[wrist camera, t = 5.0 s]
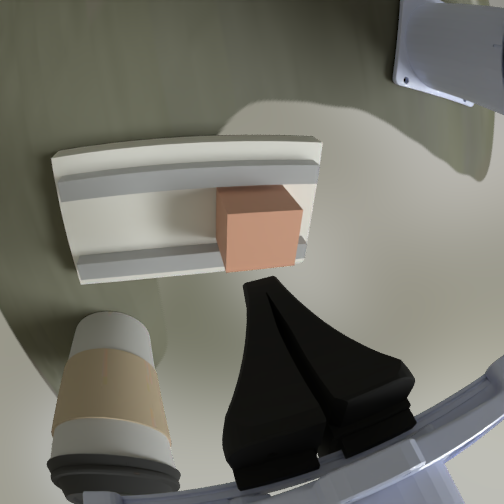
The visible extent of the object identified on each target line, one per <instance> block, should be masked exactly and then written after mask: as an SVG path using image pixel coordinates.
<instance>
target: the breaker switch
mask: <svg viewBox="0 0 504 504" xmlns="http://www.w3.org/2000/svg"><path fill="white" fill-rule="evenodd" d="M302 215H303V209H302V208H301V207H300V205H299V204H298V203H297V202H296V201H295V199H294V198H293V197H292V196H291V195H290V193H289V192H288V191H287V190H286V189H285V187H284V186H283V185H254V186H232V187H216V241H217V244H218V248H219V251H220V254H221V257H222V261H223V264H224V267H225V271H226V273H228V272H238V271H247V270H256V269H265V268H274V267H284V266H292V265H294V264H295V258H296V252H297V246H298V240H299V234H300V228H301V221H302Z"/></svg>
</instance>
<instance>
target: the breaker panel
mask: <svg viewBox="0 0 504 504" xmlns="http://www.w3.org/2000/svg"><path fill="white" fill-rule="evenodd" d="M322 145H323V142H321V141H319V140H318V139H316V138H315V137H313V136H291V135H214V136H190V137H173V138H159V139H147V140H136V141H126V142H117V143H108V144H100V145H93V146H86V147H79V148H72V149H66V150H60V151H58V152H57V153H56V154H55V155H54V156H53V157H52V158H51V161H52V167H53V173H54V178H55V184H56V189H57V194H58V199H59V204H60V208H61V213H62V217H63V222H64V226H65V230H66V234H67V238H68V242H69V245H70V249H71V253H72V256H73V260H74V263H75V267H76V270H77V273H78V277H79V280H80V283H81V284H93V283H104V282H115V281H126V280H137V279H148V278H158V277H169V276H179V275H189V274H199V273H209V272H219V271H225V267H224V264H223V261H222V257H221V254H220V251H219V248H218V244H217V241H216V187H232V186H254V185H283V186H284V187H285V189H286V190H287V191H288V192H289V193H290V195H291V196H292V197H293V198H294V199H295V201H296V202H297V203H298V204H299V205H300V207H301V208H302V209H303V215H302V221H301V228H300V234H299V240H298V246H297V252H296V258H295V263H303V261H304V258H305V252H306V247H307V239H308V233H309V228H310V222H311V216H312V210H313V204H314V197H315V191H316V185H317V181H318V175H319V168H320V159H321V152H322Z"/></svg>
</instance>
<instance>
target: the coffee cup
mask: <svg viewBox="0 0 504 504" xmlns="http://www.w3.org/2000/svg"><path fill="white" fill-rule="evenodd" d="M51 433H52V436H53V443H52V452H51V459H49V460H48V462H47V467H48V469H49V470H50V472H51V480H52V482H53V483H54V484H55V485H56V486H57V487H59V488H60V489H62V491H63V493H64V495H65V497H66V499H67V500H68V501H70V502H72V503H74V504H83V492H84V491H110V492H115V493H118V494H119V495H121V496H132V495H147V494H158V493H168V492H176V491H178V490H179V488H180V484H179V482H178V481H179V479H180V476H181V475H180V472H179V471H178V470H177V469H176V468H175V464H174V460H173V456H172V452H171V444H172V443H171V439H170V434H169V430H168V426H167V421H166V416H165V412H164V407H163V402H162V397H161V392H160V387H159V382H158V377H157V373H156V371H155V368H154V361H153V355H152V349H151V342H150V335H149V332H148V330H147V329H146V327H145V326H144V325H143V324H142V323H141V322H140V321H138V320H137V319H135V318H133V317H131V316H129V315H126V314H123V313H119V312H112V311H104V312H97V313H93V314H91V315H88V316H87V317H85V318H84V319H82V320H81V321H80V322H79V324H78V325H77V328H76V331H75V335H74V339H73V342H72V346H71V350H70V354H69V358H68V361H67V363H66V365H65V368H64V372H63V376H62V380H61V385H60V389H59V394H58V399H57V404H56V409H55V414H54V420H53V425H52V431H51Z"/></svg>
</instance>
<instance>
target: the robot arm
mask: <svg viewBox="0 0 504 504" xmlns="http://www.w3.org/2000/svg"><path fill="white" fill-rule="evenodd" d="M404 78H405V79H406V80H405V82H404ZM393 82H394V83H395V84H397V85H400V86H404V87H408V88H412V89H415V90H419V91H423V92H426V93H430V94H433V95H436V96H439V97H443V98H446V99H449V100H452V101H455V102H458V103H461V104H464V105H467V106H469V107H472V106H473V105H474V103H475V104H477V105H480V106H483V107H485V108H488V109H490V110H493V111H495V112H498V113H500V114H502V115H504V8H500V7H492V6H483V5H472V4H455V3H444V2H442V1H441V0H400V12H399V25H398V36H397V45H396V54H395V63H394V71H393ZM243 290H244V296H245V302H246V307H247V326H246V339H245V347H244V354H243V360H242V364H241V369H240V374H239V377H238V381H237V384H236V388H235V391H234V394H233V397H232V400H231V403H230V406H229V408H228V411H227V413H226V416H225V422H224V429H223V438H222V441H223V442H222V443H223V444H222V445H223V451H224V455H225V458H226V461H227V462H228V464H229V465H230V467H231V468H232V469H233V473H234V477H235V482H230V483H226V484H221V485H215V486H210V487H204V488H198V489H191V490H184V491H176V492H168V493H158V494H147V495H132V496H121V495H119V494H118V493H115V492H110V491H84V492H83V504H465V502H464V501H463V499H462V497H461V495H460V493H459V491H458V489H457V487H456V485H455V483H454V481H453V480H452V477H451V475H450V474H449V472H448V470H447V468H446V466H445V464H444V463H446V462H447V461H449V460H450V459H451V458H453V457H455V456H456V455H457V454H459V453H461V451H463V450H465V449H466V448H468V447H469V446H470V445H472V444H473V443H474V442H476V441H477V440H478V439H480V438H481V437H482V436H484V435H485V434H486V433H488V432H489V431H490V430H491V429H493V428H494V427H495V426H496V425H498V424H499V423H500V422H501V421H502V420H504V355H503V356H502V357H500V358H499V359H497V360H496V361H495V362H494V363H492V364H491V365H490V367H489V368H488V369H487V371H486V372H485V374H484V375H482V376H481V377H480V378H478V379H477V380H475V381H474V382H472V383H471V384H469V385H468V386H466V387H464V388H463V389H461V390H460V391H458V392H456V393H455V394H453V395H452V396H450V397H448V398H447V399H445V400H443V401H441V402H440V403H438V404H436V405H435V406H433V407H431V408H429V409H427V410H426V411H424V412H422V413H420V414H419V415H416V416H413V414H412V413H411V411H410V409H409V407H410V406H411V405H410V403H409V401H408V399H407V397H408V395H409V393H410V392H411V390H412V388H413V386H414V383H415V378H414V377H413V375H412V373H411V372H410V370H409V369H408V368H407V367H406V365H405V364H404V363H403V362H402V361H401V360H400V359H397V358H394V357H391V356H388V355H385V354H382V353H380V352H377V351H375V350H373V349H370V348H368V347H366V346H364V345H362V344H360V343H358V342H356V341H354V340H353V339H350V338H349V337H347V336H345V335H343V334H342V333H340V332H339V331H337V330H336V329H334V328H332V327H331V326H330V325H328V324H327V323H325V322H324V321H323V320H321V319H320V318H319V317H317V316H316V315H315V314H314V313H312V312H311V311H310V310H309V309H308V308H306V307H305V306H304V305H303V304H302V303H301V302H300V301H298V300H297V299H296V298H295V297H294V296H293V295H292V294H291V293H290V292H289V291H288V290H287V289H286V288H285V287H284V286H283V285H282V284H281V282H280V281H279V280H278V279H277V278H276V277H275V276H271V277H267V278H263V279H259V280H255V281H251V282H247V283H245V284H244V285H243ZM317 453H318V456H319V458H317ZM316 478H319V479H318V480H316V481H313V482H310V483H308V484H305V485H303V486H300V487H298V488H294V489H292V490H289V491H286V492H283V493H280V494H277V495H274V496H270V494H267V493H270V492H274V491H278V490H281V489H285V488H288V487H292V486H295V485H298V484H301V483H304V482H307V481H311V480H314V479H316Z"/></svg>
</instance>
